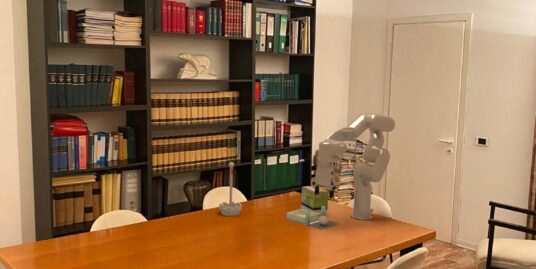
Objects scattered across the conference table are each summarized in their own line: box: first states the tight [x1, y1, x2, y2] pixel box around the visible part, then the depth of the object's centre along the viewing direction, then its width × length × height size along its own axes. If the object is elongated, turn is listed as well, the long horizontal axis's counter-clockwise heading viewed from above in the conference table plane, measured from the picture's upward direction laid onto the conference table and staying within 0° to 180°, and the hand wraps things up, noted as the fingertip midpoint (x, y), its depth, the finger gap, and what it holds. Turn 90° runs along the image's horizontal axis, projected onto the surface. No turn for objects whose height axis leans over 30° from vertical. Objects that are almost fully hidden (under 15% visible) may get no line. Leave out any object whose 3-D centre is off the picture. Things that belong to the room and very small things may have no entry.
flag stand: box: [218, 161, 243, 217], centre depth 300 cm, size 13×13×30 cm
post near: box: [304, 210, 310, 226], centre depth 281 cm, size 2×2×8 cm
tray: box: [286, 208, 321, 224], centre depth 292 cm, size 13×13×3 cm
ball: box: [319, 215, 328, 225], centre depth 282 cm, size 5×5×5 cm
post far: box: [320, 206, 326, 217], centre depth 292 cm, size 2×2×8 cm
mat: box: [284, 217, 341, 231], centre depth 289 cm, size 17×27×1 cm, turn 47°
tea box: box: [300, 185, 329, 217], centre depth 306 cm, size 15×10×15 cm, turn 25°
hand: (324, 196), depth 280 cm, fingers open, 9 cm apart
